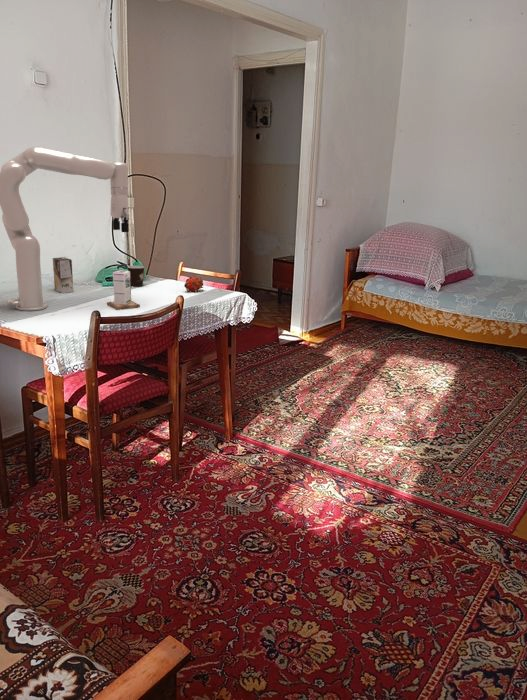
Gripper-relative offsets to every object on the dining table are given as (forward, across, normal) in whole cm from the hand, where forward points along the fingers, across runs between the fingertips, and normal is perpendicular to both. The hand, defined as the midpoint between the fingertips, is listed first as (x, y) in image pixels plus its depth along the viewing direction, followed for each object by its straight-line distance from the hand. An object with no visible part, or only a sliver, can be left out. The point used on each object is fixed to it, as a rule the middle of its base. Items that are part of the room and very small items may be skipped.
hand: (120, 230), depth 258 cm
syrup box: (+31, +10, -4) cm, 33 cm away
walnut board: (+32, +10, -4) cm, 34 cm away
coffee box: (+32, -33, -17) cm, 49 cm away
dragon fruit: (+33, -6, +41) cm, 53 cm away
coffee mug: (+32, -31, +19) cm, 49 cm away
